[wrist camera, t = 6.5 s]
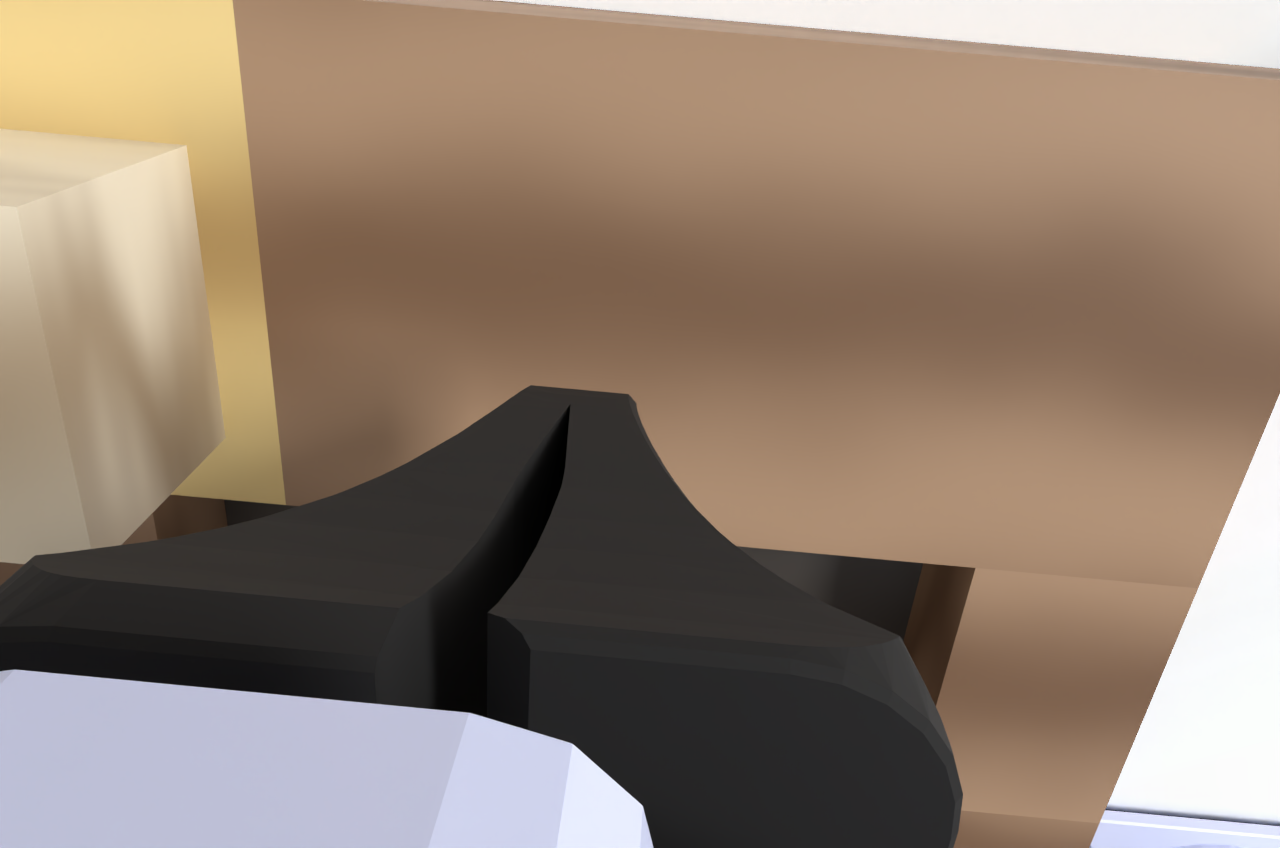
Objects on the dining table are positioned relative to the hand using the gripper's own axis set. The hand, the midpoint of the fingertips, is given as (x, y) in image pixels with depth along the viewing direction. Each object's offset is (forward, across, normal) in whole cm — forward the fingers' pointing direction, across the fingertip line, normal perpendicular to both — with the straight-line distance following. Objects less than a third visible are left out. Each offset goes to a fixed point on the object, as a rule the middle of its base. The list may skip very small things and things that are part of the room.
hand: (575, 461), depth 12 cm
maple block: (+4, +9, 0) cm, 10 cm away
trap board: (+7, +1, +3) cm, 8 cm away
